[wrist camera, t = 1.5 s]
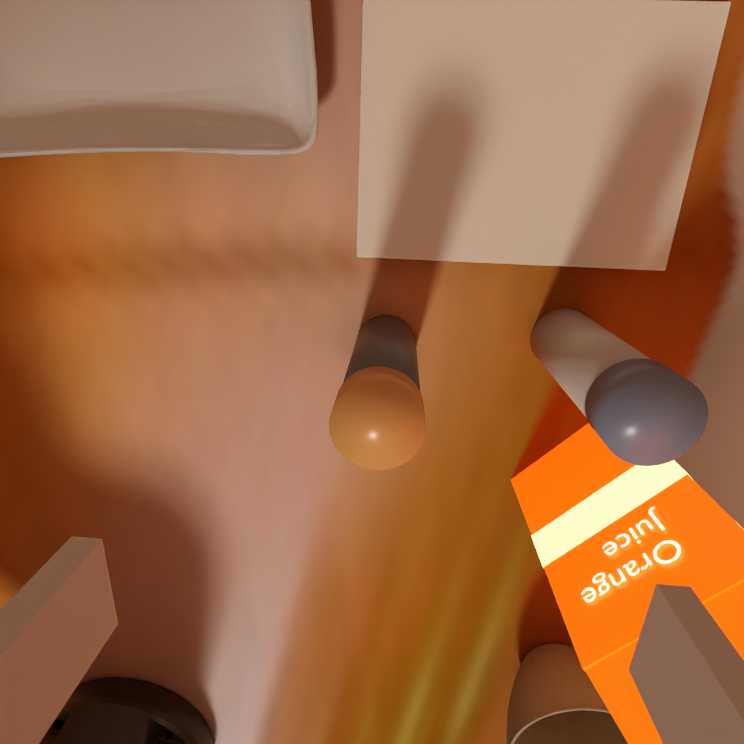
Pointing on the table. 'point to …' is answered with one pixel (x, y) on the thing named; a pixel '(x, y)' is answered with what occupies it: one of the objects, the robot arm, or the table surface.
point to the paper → (531, 128)
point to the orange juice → (627, 557)
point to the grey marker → (620, 389)
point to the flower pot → (557, 702)
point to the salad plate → (157, 76)
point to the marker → (380, 398)
